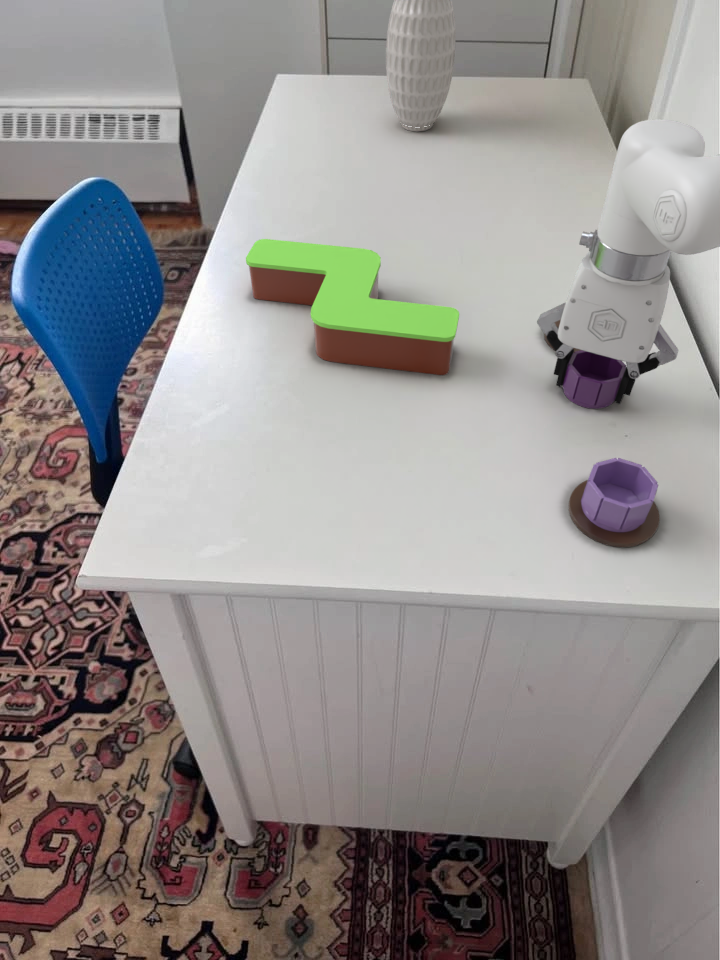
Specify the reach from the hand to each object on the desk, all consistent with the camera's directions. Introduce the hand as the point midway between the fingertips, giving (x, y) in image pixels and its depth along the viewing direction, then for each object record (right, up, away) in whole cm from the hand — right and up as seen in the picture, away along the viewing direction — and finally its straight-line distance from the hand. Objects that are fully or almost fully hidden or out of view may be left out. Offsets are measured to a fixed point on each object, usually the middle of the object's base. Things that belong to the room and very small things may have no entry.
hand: (590, 387), depth 87 cm
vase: (-17, +59, +55) cm, 83 cm away
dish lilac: (-2, -14, -13) cm, 19 cm away
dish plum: (0, -1, 0) cm, 1 cm away
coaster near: (-2, -15, -13) cm, 19 cm away
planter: (-30, +10, +11) cm, 33 cm away
